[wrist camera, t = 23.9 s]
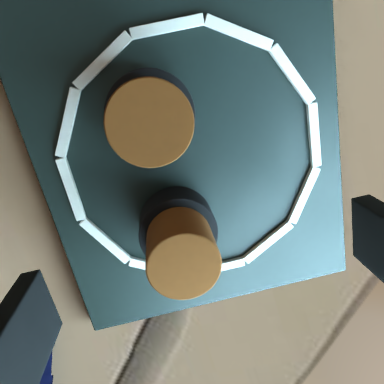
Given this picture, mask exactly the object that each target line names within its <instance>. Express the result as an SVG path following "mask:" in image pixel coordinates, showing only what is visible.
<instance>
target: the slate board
mask: <svg viewBox="0 0 384 384" xmlns="http://www.w3.org/2000/svg"><path fill="white" fill-rule="evenodd" d="M139 68H158V69H162V70H165V71H167V72H169V73H171V74H173V75H174V76H176V77H177V78H178V79H179V80H180V81H181V82H182V83H183V84H184V85H185V86H186V87H187V89H188V90H189V92H190V94H191V96H192V99H193V102H194V106H195V125H194V133H193V137H192V140H191V142H190V144H189V146H188V148H187V149H186V151H185V152H184V153H183V154H182V155H181V156H180V157H179V158H178V159H177V160H175V161H174V162H172V163H170V164H168V165H165V166H162V167H157V168H143V167H138V166H135V165H132V164H130V163H128V162H126V161H125V160H124V159H122V158H121V157H120V156H119V155H117V153H116V152H115V151H114V150H113V149H112V147H111V146H110V144H109V142H108V140H107V137H106V135H105V130H104V123H103V121H104V105H105V100H106V97H107V94H108V92H109V90H110V89H111V87H112V86H113V84H114V83H115V82H116V81H117V80H118V79H119V78H120V77H121V76H123V75H124V74H126V73H128V72H130V71H132V70H135V69H139ZM0 79H1V81H2V84H3V87H4V89H5V92H6V95H7V97H8V100H9V103H10V105H11V108H12V111H13V113H14V116H15V119H16V121H17V124H18V127H19V129H20V132H21V135H22V137H23V140H24V143H25V145H26V148H27V151H28V153H29V156H30V159H31V161H32V164H33V167H34V169H35V172H36V175H37V177H38V180H39V183H40V186H41V188H42V191H43V194H44V196H45V199H46V202H47V204H48V207H49V210H50V212H51V215H52V218H53V220H54V223H55V226H56V228H57V231H58V234H59V236H60V239H61V242H62V244H63V247H64V250H65V252H66V255H67V258H68V260H69V263H70V266H71V268H72V271H73V274H74V276H75V279H76V282H77V284H78V287H79V290H80V292H81V295H82V298H83V300H84V303H85V306H86V308H87V311H88V314H89V316H90V319H91V322H92V324H93V327H94V330H100V329H104V328H108V327H112V326H117V325H121V324H125V323H129V322H133V321H137V320H141V319H146V318H150V317H154V316H158V315H162V314H166V313H170V312H174V311H179V310H183V309H187V308H191V307H195V306H199V305H203V304H208V303H212V302H216V301H220V300H224V299H228V298H232V297H236V296H241V295H245V294H249V293H253V292H257V291H261V290H265V289H270V288H274V287H278V286H282V285H286V284H290V283H294V282H298V281H303V280H307V279H311V278H315V277H319V276H323V275H327V274H332V273H336V272H340V271H344V270H346V267H345V246H344V226H343V205H342V185H341V165H340V144H339V124H338V103H337V83H336V62H335V42H334V22H333V1H332V0H0ZM173 186H181V187H187V188H190V189H193V190H194V191H196V192H198V193H199V194H201V195H202V196H203V197H204V198H205V200H206V201H207V203H208V204H209V206H210V209H211V211H212V213H213V215H214V217H215V220H216V222H217V226H218V240H217V243H216V244H217V247H218V249H219V252H220V254H221V258H222V269H221V273H220V276H219V278H218V280H217V282H216V283H215V285H214V286H213V287H212V288H211V289H210V290H209V291H207V292H206V293H205V294H203V295H201V296H199V297H196V298H193V299H188V300H175V299H170V298H167V297H165V296H163V295H161V294H159V293H158V292H157V291H156V290H155V289H154V288H153V287H152V286H151V285H150V283H149V281H148V279H147V276H146V272H145V261H146V256H145V255H144V253H143V251H142V250H141V247H140V244H139V237H138V234H139V223H140V215H141V211H142V208H143V206H144V204H145V203H146V201H147V200H148V199H149V198H150V197H151V196H152V195H153V194H154V193H156V192H158V191H159V190H162V189H164V188H167V187H173Z"/></svg>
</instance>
